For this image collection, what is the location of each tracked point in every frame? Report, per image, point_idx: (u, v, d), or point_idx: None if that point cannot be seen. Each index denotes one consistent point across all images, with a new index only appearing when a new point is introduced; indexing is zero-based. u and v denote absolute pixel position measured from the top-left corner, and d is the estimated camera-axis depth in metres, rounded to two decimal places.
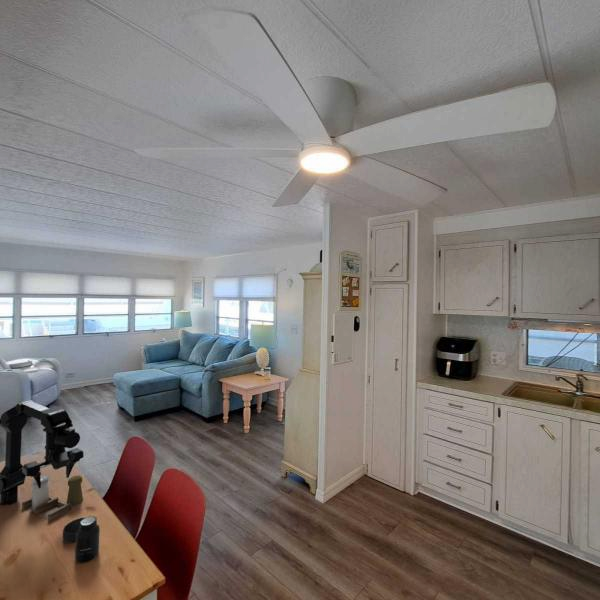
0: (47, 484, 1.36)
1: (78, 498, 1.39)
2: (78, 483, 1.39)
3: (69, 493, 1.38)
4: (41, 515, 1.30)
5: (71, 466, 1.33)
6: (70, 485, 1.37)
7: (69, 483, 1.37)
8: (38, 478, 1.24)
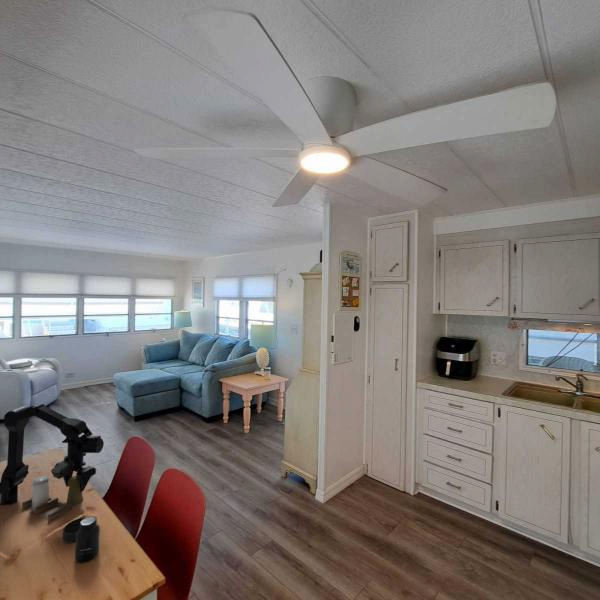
0: (47, 484, 1.36)
1: (78, 498, 1.39)
2: (78, 483, 1.39)
3: (69, 493, 1.38)
4: (41, 515, 1.30)
5: (80, 482, 1.36)
6: (70, 485, 1.37)
7: (69, 483, 1.37)
8: (64, 477, 1.41)
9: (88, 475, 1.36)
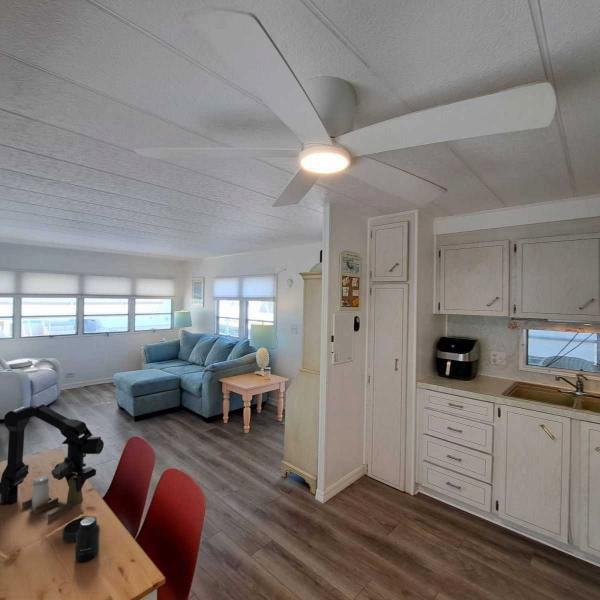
0: (47, 484, 1.36)
1: (78, 498, 1.39)
2: None
3: (69, 493, 1.38)
4: (41, 515, 1.30)
5: (76, 482, 1.37)
6: (70, 485, 1.37)
7: (69, 483, 1.37)
8: (67, 479, 1.40)
9: (88, 476, 1.35)
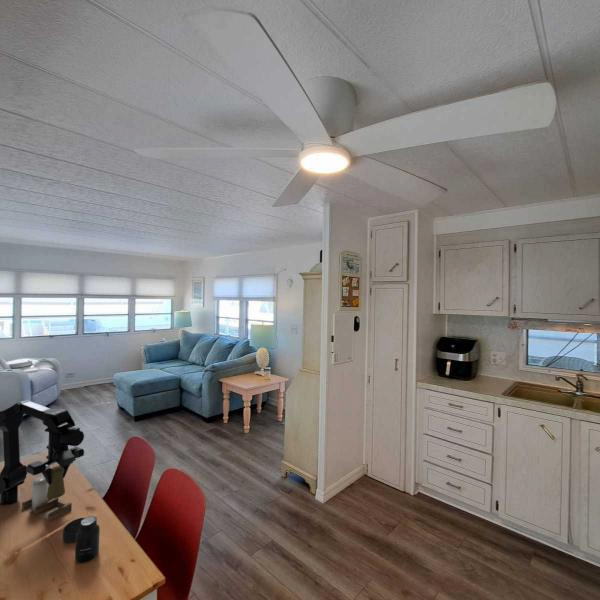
0: (47, 484, 1.36)
1: None
2: None
3: (59, 482, 1.33)
4: (41, 515, 1.30)
5: (67, 466, 1.36)
6: (62, 473, 1.33)
7: (60, 472, 1.33)
8: (49, 474, 1.30)
9: None
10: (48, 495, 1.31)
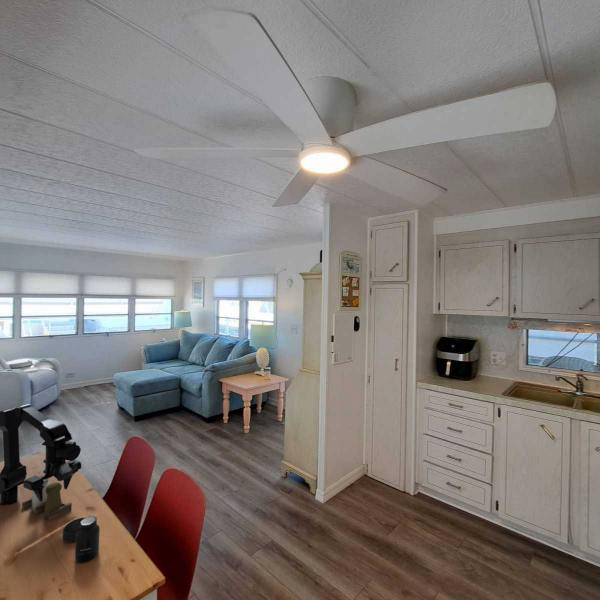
0: (47, 484, 1.36)
1: None
2: None
3: (56, 500, 1.32)
4: (41, 515, 1.30)
5: (70, 477, 1.37)
6: (59, 490, 1.32)
7: (58, 489, 1.32)
8: (40, 492, 1.27)
9: None
10: (45, 512, 1.30)
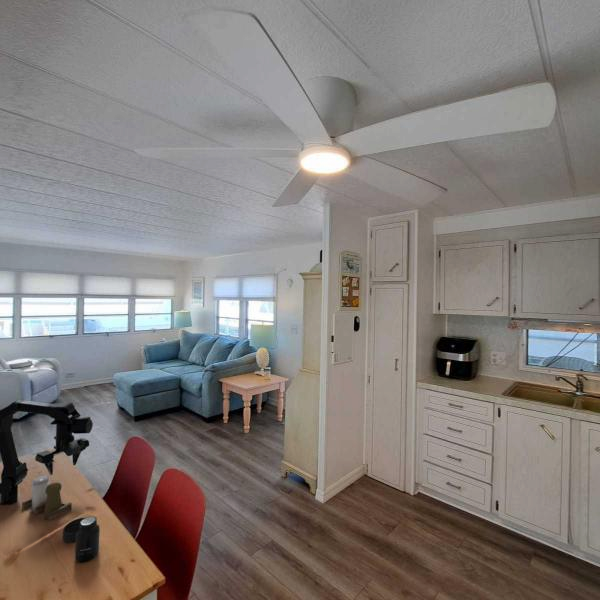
0: (47, 484, 1.36)
1: None
2: None
3: (56, 500, 1.32)
4: (41, 515, 1.30)
5: (78, 454, 1.46)
6: (59, 490, 1.32)
7: (58, 489, 1.32)
8: (51, 465, 1.37)
9: None
10: (45, 512, 1.30)
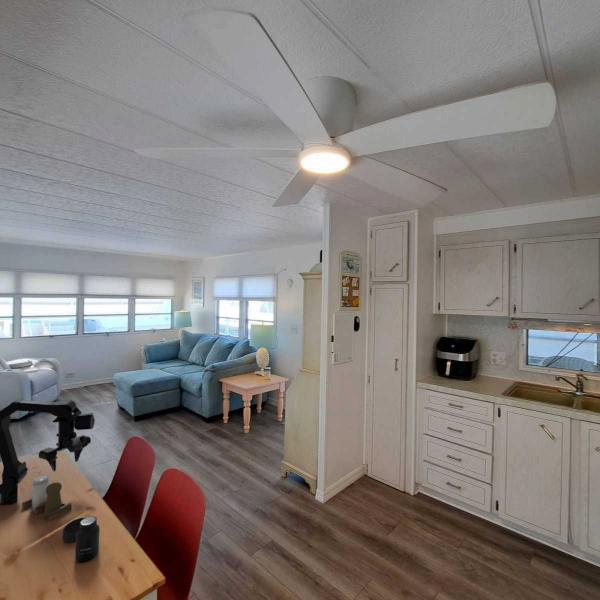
0: (47, 484, 1.36)
1: None
2: None
3: (56, 499, 1.32)
4: (41, 515, 1.30)
5: (80, 451, 1.49)
6: (59, 490, 1.32)
7: (58, 488, 1.32)
8: (54, 462, 1.39)
9: None
10: (45, 512, 1.30)
